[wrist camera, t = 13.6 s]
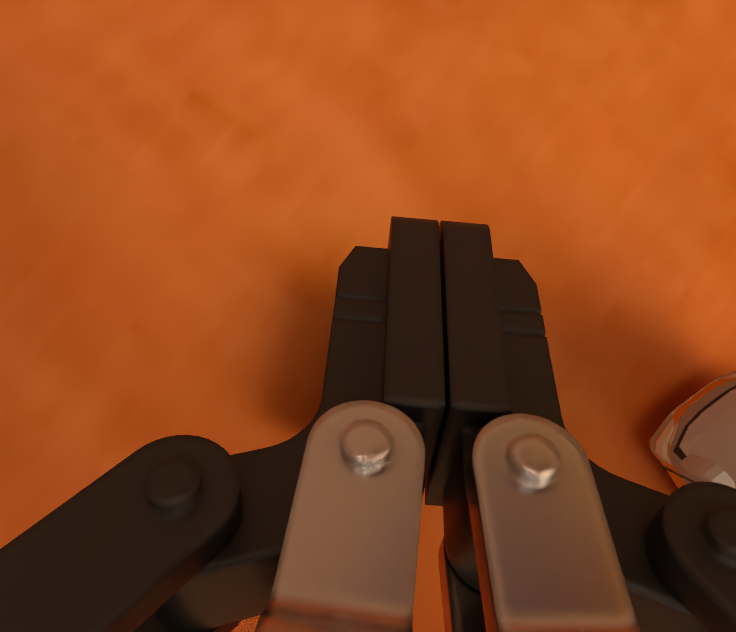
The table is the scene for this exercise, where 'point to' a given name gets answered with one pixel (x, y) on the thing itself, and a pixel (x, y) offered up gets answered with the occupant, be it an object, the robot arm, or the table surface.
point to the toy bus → (701, 436)
